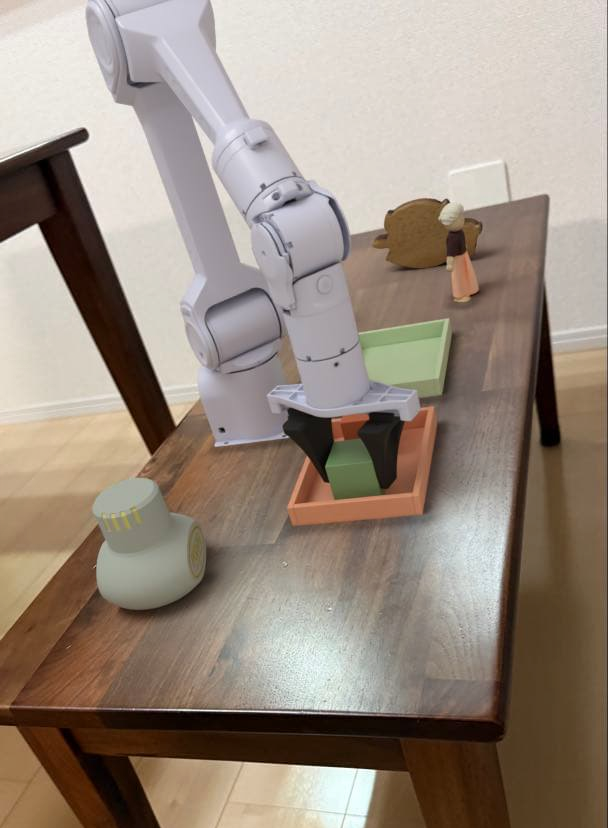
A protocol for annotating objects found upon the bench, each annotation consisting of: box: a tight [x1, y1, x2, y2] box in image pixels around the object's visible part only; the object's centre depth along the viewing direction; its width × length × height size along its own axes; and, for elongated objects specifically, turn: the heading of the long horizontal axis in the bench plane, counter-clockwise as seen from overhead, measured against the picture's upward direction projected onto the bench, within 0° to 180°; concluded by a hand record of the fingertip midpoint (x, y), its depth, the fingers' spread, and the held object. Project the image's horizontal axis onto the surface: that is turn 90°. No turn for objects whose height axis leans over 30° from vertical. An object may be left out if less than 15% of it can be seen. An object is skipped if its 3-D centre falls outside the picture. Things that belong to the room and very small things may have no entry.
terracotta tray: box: [286, 405, 438, 527], centre depth 82 cm, size 12×16×3 cm
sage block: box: [325, 439, 386, 500], centre depth 78 cm, size 4×4×4 cm
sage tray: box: [358, 317, 453, 399], centre depth 99 cm, size 12×16×3 cm
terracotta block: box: [340, 414, 369, 440], centre depth 85 cm, size 4×4×4 cm
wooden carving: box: [371, 197, 484, 269], centre depth 125 cm, size 16×5×10 cm, turn 77°
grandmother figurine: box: [438, 202, 480, 303], centre depth 110 cm, size 8×4×13 cm, turn 168°
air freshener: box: [91, 477, 207, 611], centre depth 74 cm, size 11×8×10 cm
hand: (360, 480), depth 79 cm, fingers closed on sage block, 5 cm apart
